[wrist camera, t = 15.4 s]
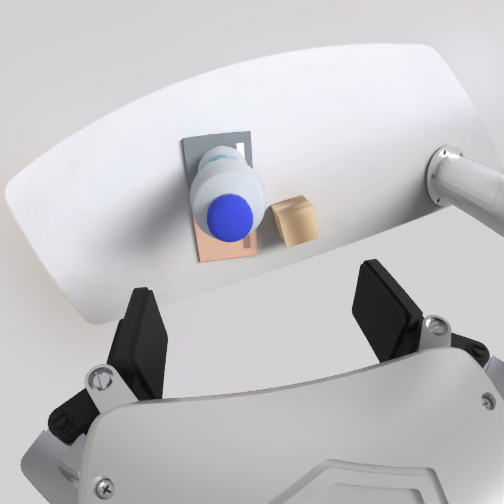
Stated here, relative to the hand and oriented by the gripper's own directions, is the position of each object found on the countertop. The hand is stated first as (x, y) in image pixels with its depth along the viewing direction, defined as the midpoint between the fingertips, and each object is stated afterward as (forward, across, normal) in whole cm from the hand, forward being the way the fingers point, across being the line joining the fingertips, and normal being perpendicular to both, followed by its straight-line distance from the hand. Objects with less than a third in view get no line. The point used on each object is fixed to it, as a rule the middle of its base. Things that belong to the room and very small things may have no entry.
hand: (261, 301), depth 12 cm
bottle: (+28, +1, 0) cm, 29 cm away
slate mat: (+29, +1, 0) cm, 29 cm away
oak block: (+29, -9, +8) cm, 32 cm away
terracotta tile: (+29, +1, +10) cm, 31 cm away
